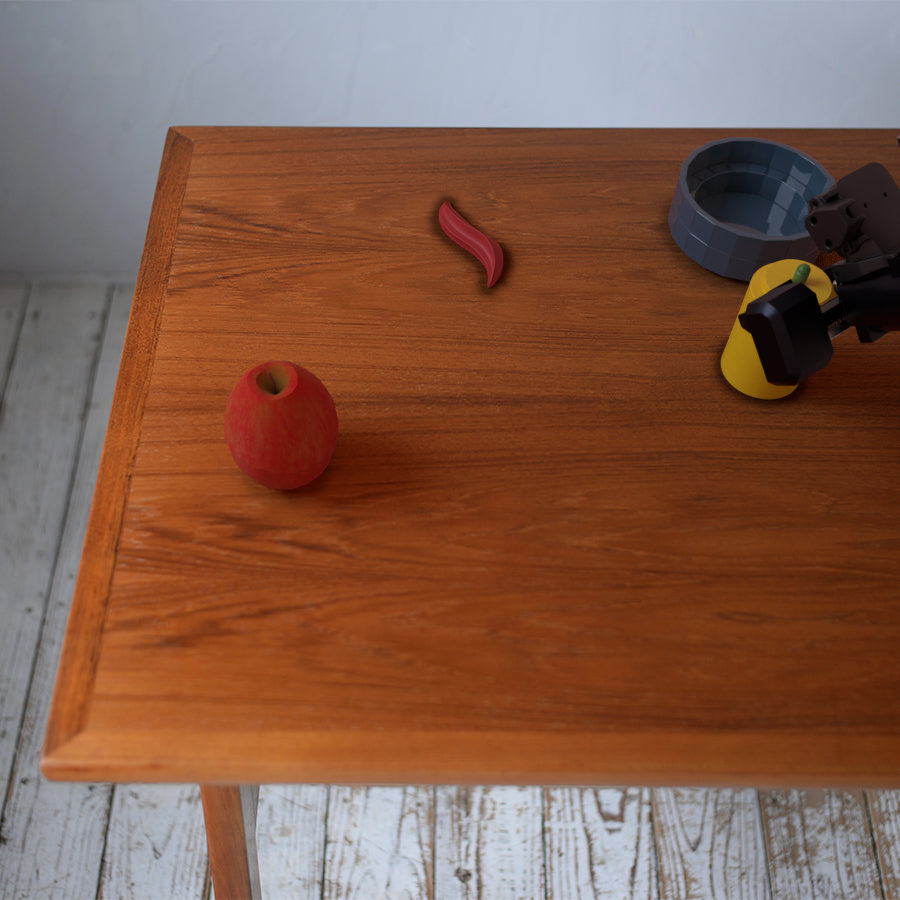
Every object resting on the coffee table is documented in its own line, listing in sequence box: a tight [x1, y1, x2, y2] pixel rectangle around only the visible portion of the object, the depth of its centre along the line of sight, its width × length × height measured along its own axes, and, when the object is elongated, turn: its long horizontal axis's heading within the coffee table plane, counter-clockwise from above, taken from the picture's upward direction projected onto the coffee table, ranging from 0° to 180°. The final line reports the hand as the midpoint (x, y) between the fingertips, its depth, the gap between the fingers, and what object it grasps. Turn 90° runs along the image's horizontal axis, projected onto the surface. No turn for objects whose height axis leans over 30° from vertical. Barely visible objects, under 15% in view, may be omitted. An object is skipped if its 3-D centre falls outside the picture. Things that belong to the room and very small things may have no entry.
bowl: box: [667, 136, 836, 283], centre depth 88 cm, size 14×14×6 cm
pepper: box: [720, 259, 838, 400], centre depth 76 cm, size 7×7×12 cm
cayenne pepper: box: [438, 200, 504, 289], centre depth 88 cm, size 12×5×2 cm, turn 13°
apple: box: [222, 359, 340, 491], centre depth 69 cm, size 8×8×11 cm
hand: (772, 302), depth 76 cm, fingers closed on pepper, 6 cm apart
